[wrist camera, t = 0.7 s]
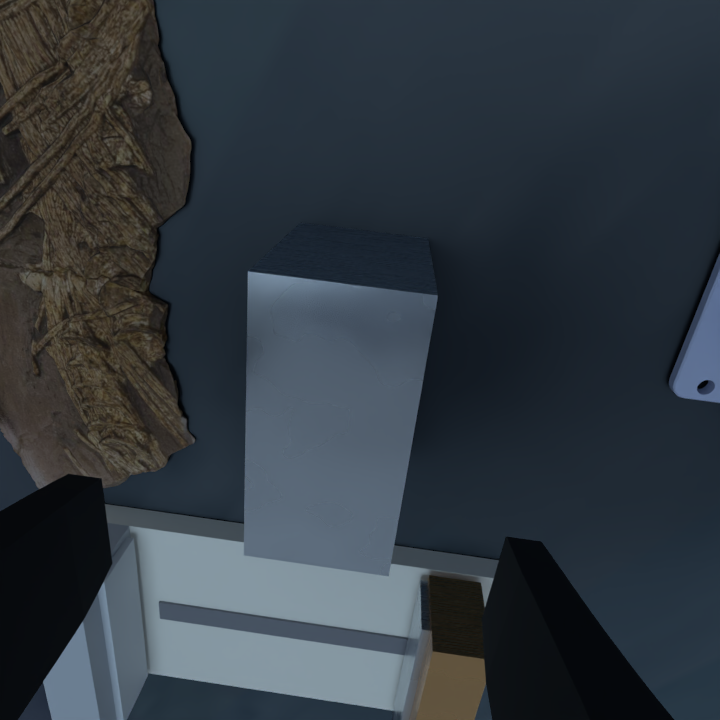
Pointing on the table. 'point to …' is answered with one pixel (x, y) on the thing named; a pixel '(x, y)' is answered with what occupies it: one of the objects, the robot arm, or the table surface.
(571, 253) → the table surface
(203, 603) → the vise base
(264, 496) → the steel block
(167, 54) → the table surface
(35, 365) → the wooden fragment
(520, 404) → the table surface
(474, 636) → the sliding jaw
